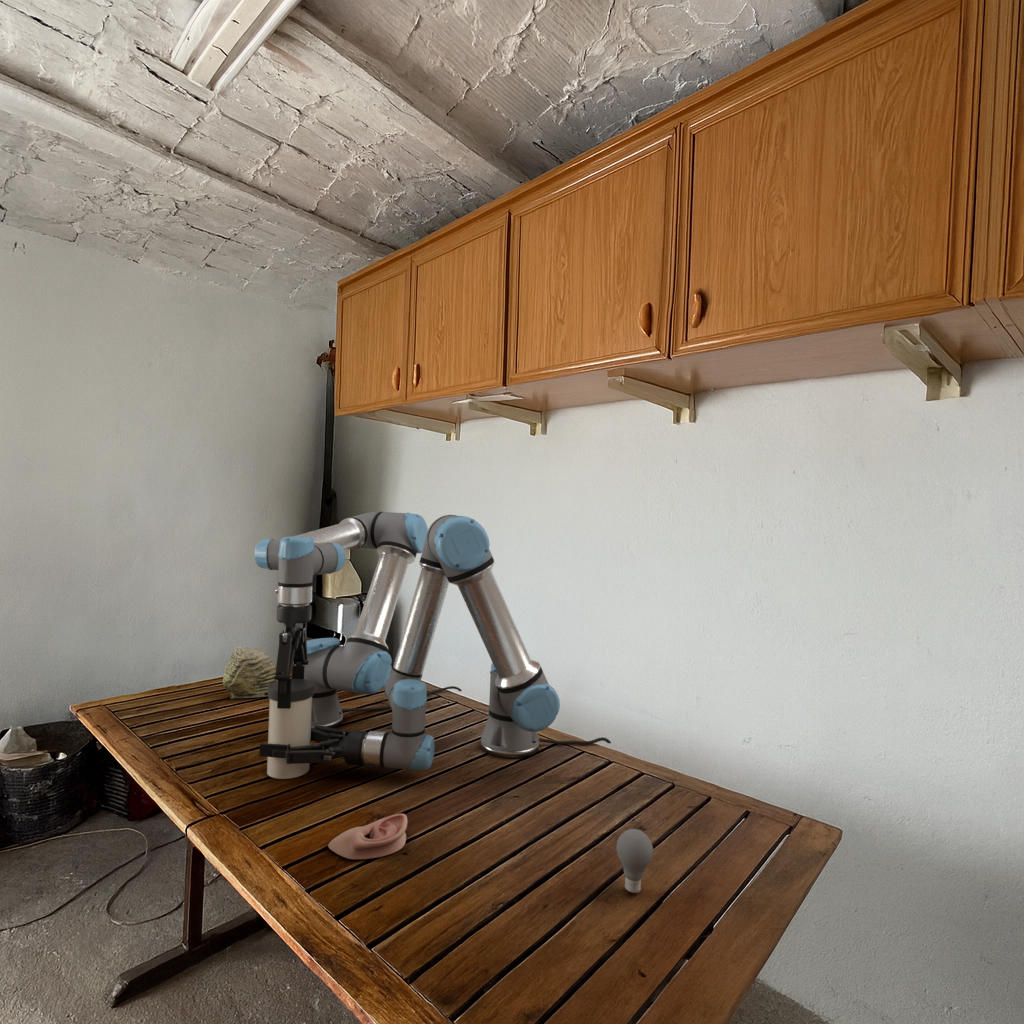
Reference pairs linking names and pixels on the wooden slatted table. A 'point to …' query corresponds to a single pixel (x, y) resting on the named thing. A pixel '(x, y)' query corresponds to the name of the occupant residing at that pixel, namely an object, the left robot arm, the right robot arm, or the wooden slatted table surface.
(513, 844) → the wooden slatted table surface
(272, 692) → the lid
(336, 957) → the wooden slatted table surface
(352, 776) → the wooden slatted table surface
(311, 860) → the wooden slatted table surface
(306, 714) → the jar
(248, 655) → the fossil
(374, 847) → the anatomical model
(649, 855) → the light bulb
